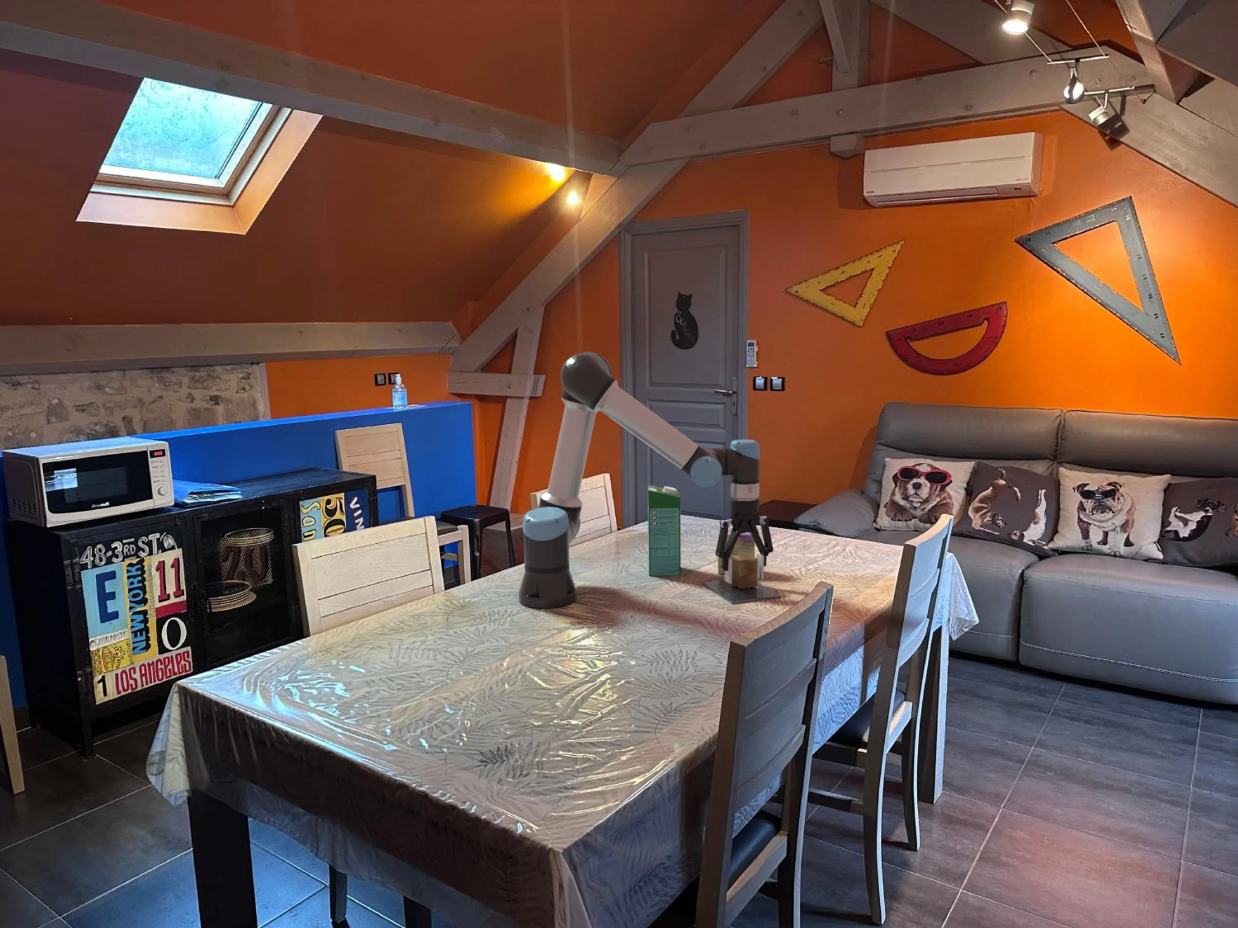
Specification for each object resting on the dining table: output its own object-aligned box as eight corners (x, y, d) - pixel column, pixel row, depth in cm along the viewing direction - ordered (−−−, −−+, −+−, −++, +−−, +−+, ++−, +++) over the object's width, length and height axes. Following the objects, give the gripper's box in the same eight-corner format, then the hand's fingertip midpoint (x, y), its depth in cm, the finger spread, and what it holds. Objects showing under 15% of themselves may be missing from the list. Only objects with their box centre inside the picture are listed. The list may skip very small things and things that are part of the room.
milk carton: (680, 575, 244) (680, 489, 240) (649, 575, 244) (648, 489, 240) (679, 566, 253) (678, 483, 249) (648, 567, 253) (647, 483, 249)
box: (753, 569, 250) (754, 529, 248) (754, 574, 244) (755, 534, 242) (717, 568, 251) (717, 529, 249) (717, 574, 245) (718, 534, 243)
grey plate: (732, 603, 219) (732, 573, 217) (703, 584, 235) (703, 556, 234) (780, 597, 223) (781, 567, 222) (748, 579, 240) (749, 551, 239)
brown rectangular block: (739, 588, 228) (740, 560, 227) (731, 582, 233) (731, 555, 232) (757, 586, 230) (757, 558, 229) (748, 580, 235) (748, 553, 234)
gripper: (714, 503, 221) (713, 588, 224) (787, 497, 228) (786, 579, 231) (702, 498, 228) (702, 580, 231) (774, 492, 235) (773, 572, 238)
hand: (744, 580), depth 231 cm, fingers open, 9 cm apart
